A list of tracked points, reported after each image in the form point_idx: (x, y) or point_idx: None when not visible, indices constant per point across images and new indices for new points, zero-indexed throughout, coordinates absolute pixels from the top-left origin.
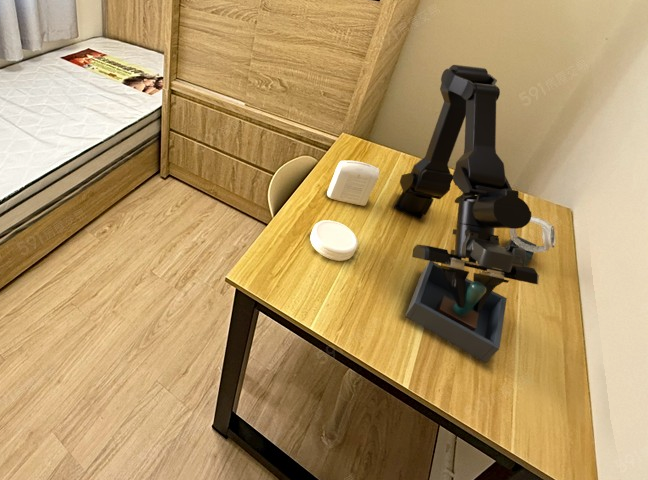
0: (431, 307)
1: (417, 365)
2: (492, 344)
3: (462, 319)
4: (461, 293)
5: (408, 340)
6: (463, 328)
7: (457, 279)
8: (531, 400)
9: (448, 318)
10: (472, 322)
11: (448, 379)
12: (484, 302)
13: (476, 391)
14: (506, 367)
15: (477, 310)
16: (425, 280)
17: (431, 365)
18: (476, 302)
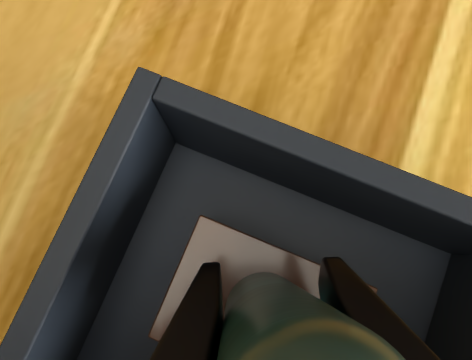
0: None
1: (429, 31)
2: (166, 82)
3: (260, 253)
4: (404, 348)
5: (455, 129)
6: (307, 138)
7: None
8: (46, 32)
9: (384, 184)
10: (207, 251)
11: (324, 14)
12: (171, 326)
13: (234, 2)
14: (83, 139)
15: (218, 266)
16: None
17: (377, 49)
18: (250, 297)
